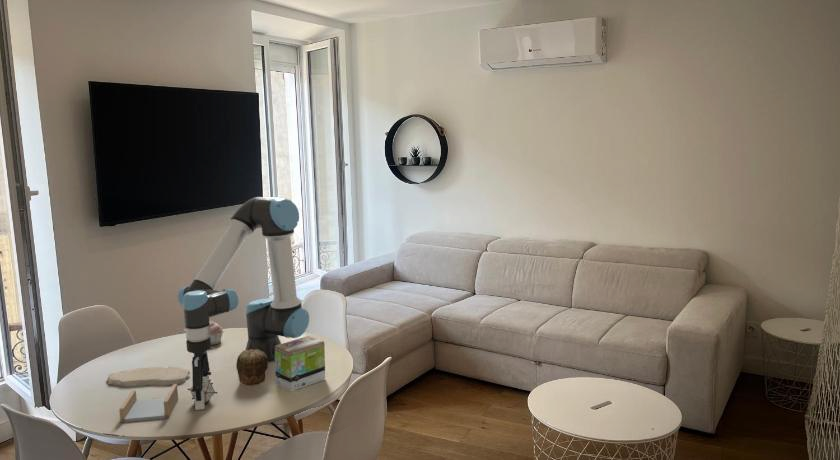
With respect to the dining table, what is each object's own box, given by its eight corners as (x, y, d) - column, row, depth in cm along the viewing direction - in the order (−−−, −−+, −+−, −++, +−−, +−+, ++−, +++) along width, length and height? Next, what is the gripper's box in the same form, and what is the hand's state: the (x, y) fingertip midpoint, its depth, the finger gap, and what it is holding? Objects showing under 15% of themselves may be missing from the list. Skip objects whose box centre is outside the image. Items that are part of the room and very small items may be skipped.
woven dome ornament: (241, 390, 217) (239, 357, 216) (234, 379, 227) (232, 348, 225) (272, 384, 222) (270, 352, 221) (264, 374, 232) (262, 343, 230)
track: (178, 399, 211) (176, 384, 210) (169, 417, 198) (167, 401, 197) (133, 403, 209) (131, 387, 208) (120, 422, 195) (118, 405, 194)
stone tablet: (183, 386, 224) (183, 379, 223) (99, 388, 223) (98, 382, 222) (198, 369, 240) (198, 363, 240) (119, 371, 239) (119, 365, 239)
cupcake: (229, 341, 269) (227, 319, 267) (210, 348, 262) (208, 325, 260) (216, 337, 275) (214, 315, 273) (197, 343, 267) (195, 321, 266)
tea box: (292, 392, 215) (290, 351, 212) (275, 385, 222) (272, 345, 219) (326, 379, 226) (324, 340, 223) (309, 372, 232) (307, 334, 230)
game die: (200, 411, 210) (193, 383, 214) (223, 401, 210) (216, 373, 214) (187, 409, 202) (180, 380, 206) (212, 399, 202) (204, 370, 206)
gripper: (192, 328, 216) (197, 388, 219) (178, 351, 193) (184, 418, 197) (215, 326, 217) (219, 387, 221) (204, 349, 194) (209, 415, 198)
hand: (203, 401), depth 209 cm, fingers open, 11 cm apart
